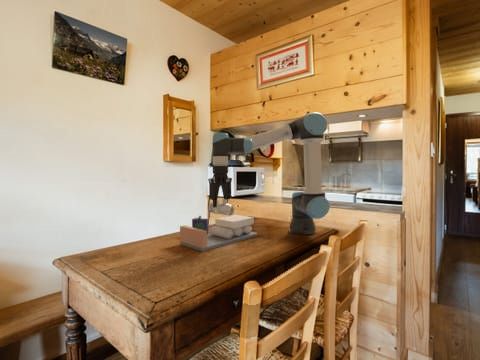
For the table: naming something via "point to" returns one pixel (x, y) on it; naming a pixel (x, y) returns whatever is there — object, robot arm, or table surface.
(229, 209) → the loose roller
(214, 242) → the roller bed
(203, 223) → the flask
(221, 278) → the table surface
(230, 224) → the stone slab
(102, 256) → the table surface
